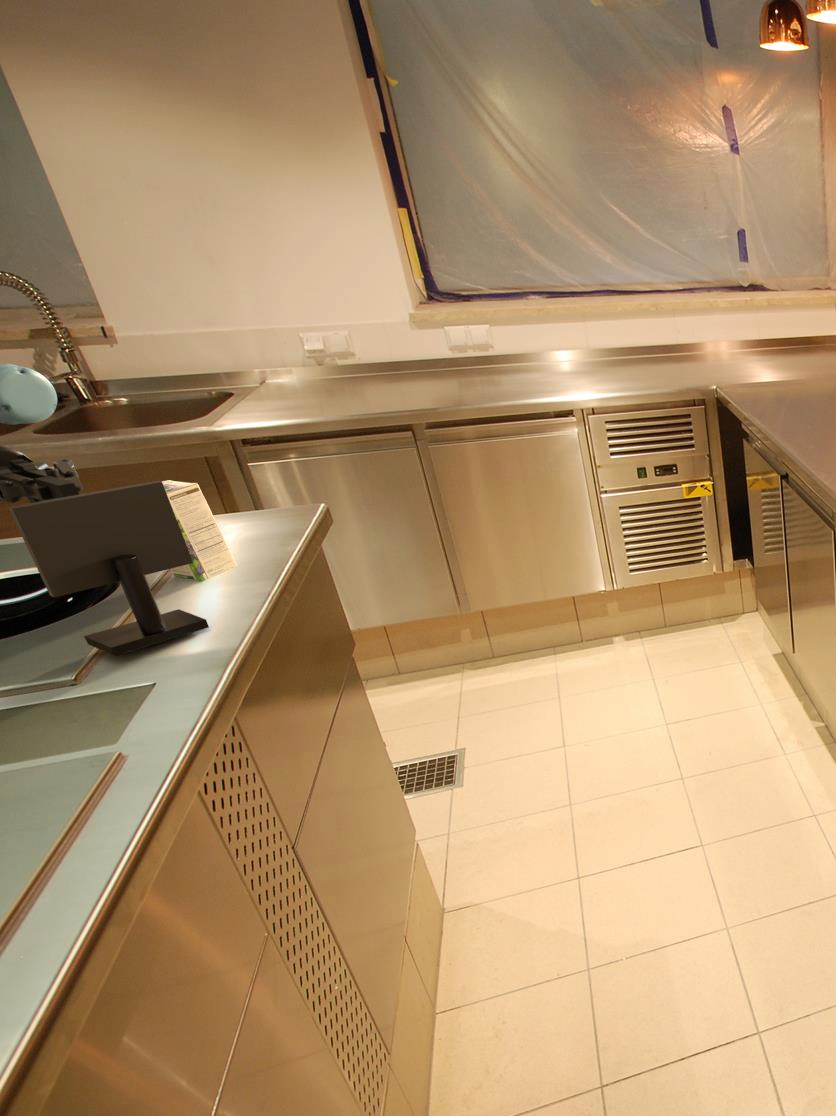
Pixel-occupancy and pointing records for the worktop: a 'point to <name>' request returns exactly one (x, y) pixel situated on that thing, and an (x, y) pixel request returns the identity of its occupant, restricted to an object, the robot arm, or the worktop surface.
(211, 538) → the syrup box
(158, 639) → the monitor stand
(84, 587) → the monitor screen
